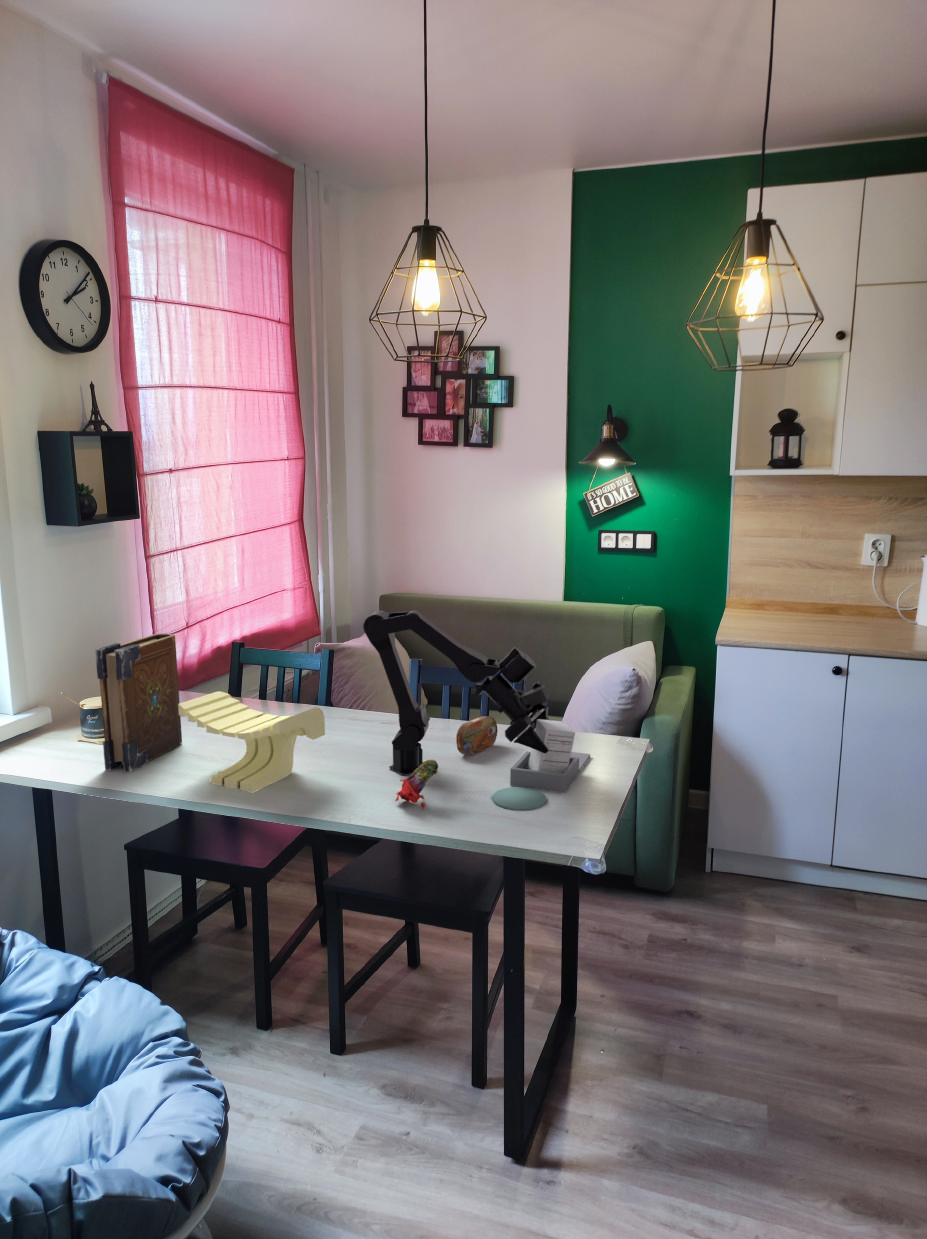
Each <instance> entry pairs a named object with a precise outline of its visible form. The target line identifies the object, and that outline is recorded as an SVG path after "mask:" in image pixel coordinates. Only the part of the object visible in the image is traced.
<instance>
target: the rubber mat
mask: <svg viewBox="0 0 927 1239" xmlns="http://www.w3.org/2000/svg"><path fill="white" fill-rule="evenodd" d="M491 800H492V801H491V802H493V804H494V805H496V806H498V807H500V808H503V809H507V810H514V811H530V810H534V809H539V808H540V807H543V806H545V805H546V803H547V800H548V798H547V795H546V794H545V793H544V792H542V791H540V790H539V789H533V788H526V787H518V786H512V787H511V786H510V787H506V788H501V789H498V790H497V791H496V790H495V792H493V794H492V795H491Z"/></svg>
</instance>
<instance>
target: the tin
mask: <svg viewBox="0 0 927 1239" xmlns="http://www.w3.org/2000/svg"><path fill="white" fill-rule="evenodd" d="M497 737H498V724H497V721H496V720H495V718H494V717H493V716H483V715H481V716H478V717H476V718H474V719H471V720H469V721H466V722H465V723H462V724H461V725H460V727H459V728H458V730H457V732H456V737H455V739H456V741H455V742H456V749H457V751H458V752H459V753H460V754H461V755H466V756H469V757H473V756H475V755H477V754H479V753H482V752H484V751H486V750H489V749H490V748H492V747H493V745H494V744H495V742H496V739H497Z"/></svg>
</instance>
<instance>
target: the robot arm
mask: <svg viewBox="0 0 927 1239" xmlns="http://www.w3.org/2000/svg"><path fill="white" fill-rule="evenodd" d="M362 627H363V632H364V633H365V636H366V638H367V639H368V641H369V642H370V644H371V645H372V646H373V647H374V649H375V650H376V652H377V653H378V655H379V658H380V660H381V661H380V662H381V664H382V666H383V670H384V671H385V675H386V677H387V680H388V683H389V686H390V688H391V691H392V694H393V697H394V700H395V702H396V705H397V708H398V712H397V713H398V724H399V729H398V731H397V733H396V735H395V736H394V738H393V740H392V741H391V745H392V763H393V764H392V765H390V766H389V768H388V769H389V770H392V771H394V772H396V773H398V774H401V775H402V776H407V775H412V774H413V772H414V771H415V770H416V769H417V768H418V767H419V766H420V765H421V764H422V763H423V762H424V761H423V760H424V758H423V757H424V756H423V748H422V743H420V742H421V741H422V740H423V739H424V737H425V736H426V733H427V730H428V729H429V726H430V724H429V722H430V721H431V720H430V719H431V717H430V716H429V715H428V713H427V709H426V708H427V706H426V705H425V703H423V704H421V705H419V703H418V702H417V701H416V699H415V697H414V695H413V691H412V689H411V686H410V682H409V681H408V677H407V674H406V672H405V669H404V666H403V664H402V661H401V658H400V655H399V652H398V649H397V646H396V636H395V635H396V633H399V632H403V631H412V632H413V633H415V634H416V635H418V636H419V637H420V638H421V639H423V640H424V641H425V642H427V643H428V644H429V645H430V646H431V647H433V648H435V649H436V650H438V651H439V652H440V653H442V655H444V656H446V657H447V658H448V659H449V660H450V661H451V662H452V663H453V664H454V666H455V668H456V669H457V670H458V671H459V672H460V673H461V674H462V676H463V677H464V678H465V679H466V680H467V681H469V682H471V683H475V685H474V687H475V693H474V695H475V696H476V697H478V696H479V695H481V694H482V693H483V692H484V693H485V695H486V696H488V697H489V699H491V701H492V702H493V703H494V704H495V705H497V707H498V709H497V711H498V713H499V714H502V713H503V714H505V715H506V716H507V717H508V718H509V720H510V721H509V724H510V725H509V726H508V727H507V728H506V729H505V730H504V736H505V738H506V740H508V741H509V743H512V742H513V743H514V744H519V745H522V746H524V747H528V748H530V749H531V748H533V749H535V750H537V751H540V752H542V753H547V752H548V749H547V747H546V746H545V744H544V743H543V742H542V740H541V739H540V738H539V736H538V735H537V734H536V732H535V728H536V723H537V719H542V720H550V718H549V715H548V714H549V706H548V705H549V702H548V701H549V699H550V698H551V695H550V693H549V689H550V688H549V686H547V685H546V684H544V683H542V682H541V681H537V682H535V683H534V684H532V689H531V690H529V691H526V692H525V691H523V690H522V689H518V690H517V689H516V688H515V687H514V686H513V685H512V684H515V683H517V684H520V683H522V681H523V680H524V679H525V678H526V677H527V676H528V675H530V673H532V672H533V670H534V669H536V668H537V665H536V663H535V661H534V660H533V659H532V658H531V657H530V656H529V655H528V654H527V653H525V652H523V651H522V650H521V649H519V648H518V647H517V646H514V647H513V648H512V649H511V650H510V651H509V653H508V654H506V656H505V657H504V658H503V659H498V658H497V659H496V658H489V657H487V656H486V655H485V654H483V653H482V652H480V651H477V650H475V649H474V648H472V647H467V646H465V645H464V644H461V643H459V642H458V641H456V639H454V638H453V637H451V636H450V635H449V634H448V633H446V632H445V631H443V630H442V629H441V628H439V627H438V626H437V625H436V624H435V623H433V622H432V621H430V620H429V619H428V618H427V617H425V616H424V615H423V614H422V613H421V612H420V611H418V610H410V611H397V612H396V611H395V612H387V611H385V610H376V611H375V612H373V613H371V614H370V615H369V616H368V617H367V618H365V619H364V622H363V626H362ZM493 676H494V677H493ZM481 681H482V682H481ZM479 682H481V683H479Z"/></svg>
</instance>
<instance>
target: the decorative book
mask: <svg viewBox="0 0 927 1239" xmlns="http://www.w3.org/2000/svg"><path fill="white" fill-rule="evenodd" d="M176 644H177V642H176V635H175V634H173V633H154V634H150V635H146V636H143V637H139V638H136V639H134V640H130V641H127V642H123V643H118V642H117V643H116V642H113V643H111V644H107V645H103V646H101V647H98V648H95V649H94V650H95V663H96V676H97V679H98V680H99V686H100V687H99V688H100V702H101V712H102V723H103V724H102V725H103V736H104V741H102V747H103V758H104V760H103V761H104V770H105V771H108V772H112V771H114V770H116V769H118V768H120V767H122V766H123V772H124V773H128V774H131V773H132V772H134V771H136V770H138V769H141V768H142V767H144V766H146V765H148V764H149V762H150V761H151V760H153V759H155V758H156V757H158V756H160V755H162V754H165V753H166V752H167V751H170V750H172V749H173V748H175V747H177V746H179V745H181V744H182V743H183V736H182V719H181V716H179V707H178V704H180V703H181V702H180V690H179V689H180V688H179V676H178V675H179V674H178V673H179V672H178V661H177V646H176Z"/></svg>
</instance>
